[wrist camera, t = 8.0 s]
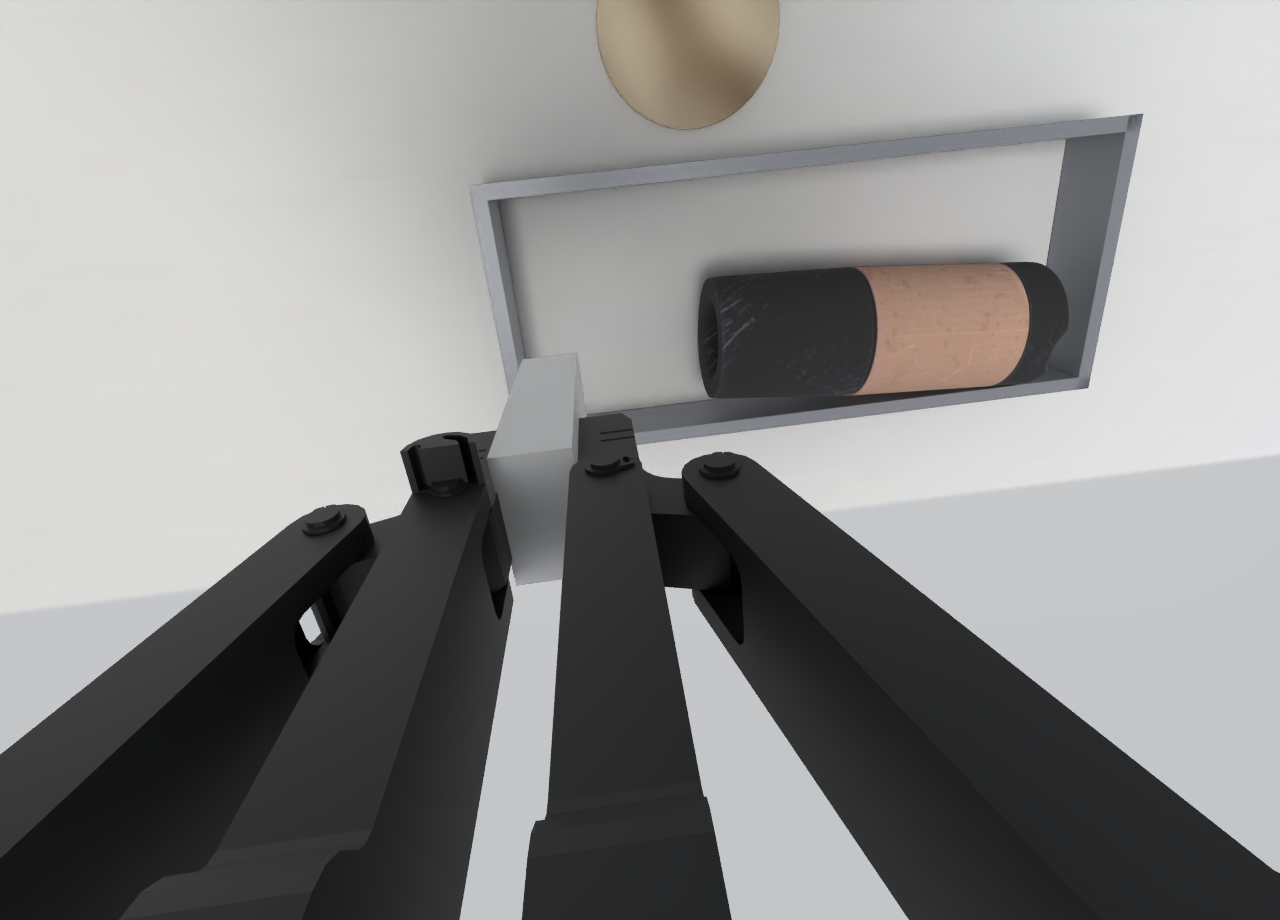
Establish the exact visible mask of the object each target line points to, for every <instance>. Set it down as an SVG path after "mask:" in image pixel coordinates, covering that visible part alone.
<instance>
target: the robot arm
mask: <svg viewBox="0 0 1280 920" xmlns="http://www.w3.org/2000/svg"><path fill="white" fill-rule="evenodd" d="M400 453H401V456H402V459H403V463H404V466H405V469H406V473H407V476H408V480H409V483H410V486H411V490H412V495H411V497H410V499H409V500H408V502H407V504H406V506H405V508H404V509H403V511H402V513H401V515H399V516H396V517H393V518H389V519H385V520H382V521H378V522H375V523H371V524H370V523H369V520H368V517H367V514H366V512H365V509H364V508H362V507H360V506H359V505H350V504H345V505H329V506H326V508H324V507H321V508H318V509H315V510H314V511H313V512H312V513H309V514H307V515H305V516H302V517H301V518H299V519H298V520H296V521H294V522H293V523H291V524H290V525H289V526H287V527H286V528H285V529H284V530H282V531H281V532H280V533H279V534H277V535H276V536H275V537H274V538H272V539H271V540H270V541H269V542H267V543H266V544H265V545H264V546H262V547H261V548H260V549H258V550H257V551H256V552H255V553H253V554H252V555H251V556H250V557H248V558H247V559H246V560H245V561H243V562H242V563H241V564H240V565H238V566H237V567H236V568H235V569H233V570H232V571H231V572H230V573H228V574H227V575H226V576H225V577H223V578H222V579H221V580H219V581H218V582H217V583H216V584H214V585H213V586H212V587H211V588H209V589H208V590H207V591H206V592H204V593H203V594H202V595H201V596H199V597H198V598H197V599H196V600H194V601H193V602H192V603H191V604H189V605H188V606H187V607H186V608H184V609H183V610H182V611H180V612H179V613H178V614H177V615H176V616H174V617H173V618H172V619H170V620H169V621H168V622H167V623H165V624H164V625H163V626H162V627H160V628H159V629H158V630H157V631H155V632H154V633H153V634H152V635H150V636H149V637H148V638H146V639H145V640H144V641H143V642H142V643H140V644H139V645H138V646H136V647H135V648H134V649H133V650H131V651H130V652H129V653H128V654H126V655H125V656H124V657H123V658H121V659H120V660H119V661H118V662H116V663H115V664H114V665H113V666H111V667H110V668H109V669H107V670H106V671H105V672H104V673H102V674H101V675H100V676H99V677H97V678H96V679H95V680H94V681H92V682H91V683H90V684H89V685H87V686H86V687H85V688H84V689H82V690H81V691H80V692H79V693H77V694H76V695H75V696H73V697H72V698H71V699H70V700H68V701H67V702H66V703H65V704H63V705H62V706H61V707H60V708H58V709H57V710H56V711H55V712H53V713H52V714H51V715H50V716H48V717H47V718H46V719H45V720H43V721H42V722H41V723H40V724H38V725H37V726H36V727H35V728H33V729H32V730H31V731H29V732H28V733H27V734H26V735H24V736H23V737H22V738H21V739H19V740H18V741H17V742H16V743H14V744H13V745H12V746H11V747H9V748H8V749H7V750H6V751H4V752H3V753H2V754H0V920H459V919H460V913H461V907H462V901H463V895H464V889H465V883H466V878H467V872H468V866H469V860H470V854H471V848H472V842H473V836H474V830H475V824H476V819H477V812H478V807H479V801H480V795H481V789H482V783H483V777H484V771H485V765H486V759H487V754H488V747H489V742H490V735H491V730H492V724H493V718H494V712H495V706H496V700H497V695H498V689H499V683H500V676H501V670H502V664H503V658H504V653H505V647H506V641H507V635H508V630H509V623H510V618H511V612H512V606H513V596H512V591H511V586H510V582H509V578H508V577H509V571H510V566H511V565H512V569H513V573H514V578H515V582H516V585H524V584H531V583H538V582H546V581H553V580H560V579H562V595H561V610H560V625H559V641H558V655H557V670H556V685H555V701H554V718H553V731H552V747H551V762H550V763H551V764H550V778H549V794H548V805H547V814H546V817H545V820H540V821H536V822H535V824H534V827H533V830H532V832H531V837H530V844H529V851H528V858H527V868H526V880H525V891H524V902H523V913H522V920H732V919H731V914H730V909H729V904H728V898H727V894H726V888H725V883H724V878H723V872H722V867H721V862H720V857H719V852H718V847H717V841H716V836H715V831H714V827H713V822H712V817H711V813H710V807H709V804H708V801H707V797H704V795H703V791H702V787H701V781H700V776H699V771H698V765H697V760H696V754H695V749H694V744H693V738H692V733H691V728H690V723H689V718H688V711H687V706H686V700H685V695H684V690H683V684H682V679H681V674H680V668H679V663H678V657H677V652H676V647H675V641H674V636H673V631H672V625H671V620H670V614H669V609H668V604H667V598H666V593H665V587H675V588H687V589H692V595H693V598H694V601H695V604H696V605H697V607H698V608H699V610H700V611H701V612H702V614H703V615H704V617H705V618H706V620H707V621H708V623H709V624H710V626H711V627H712V629H713V630H714V632H715V633H716V635H717V636H718V638H719V639H720V641H721V642H722V644H723V645H724V647H725V648H726V649H727V651H728V652H729V654H730V655H731V657H732V658H733V660H734V661H735V663H736V664H737V666H738V667H739V668H740V670H741V671H742V673H743V675H744V676H745V677H746V679H747V681H748V682H749V684H750V685H751V687H752V688H753V689H754V691H755V692H756V694H757V695H758V697H759V698H760V700H761V701H762V703H763V704H764V706H765V707H766V709H767V710H768V712H769V713H770V714H771V716H772V718H773V719H774V721H775V722H776V724H777V725H778V726H779V728H780V729H781V731H782V732H783V734H784V735H785V737H786V738H787V740H788V741H789V742H790V744H791V746H792V747H793V749H794V750H795V752H796V753H797V755H798V756H799V757H800V759H801V761H802V762H803V763H804V765H805V766H806V768H807V769H808V771H809V772H810V774H811V775H812V777H813V778H814V780H815V781H816V783H817V784H818V786H819V787H820V789H821V790H822V791H823V793H824V795H825V796H826V797H827V799H828V800H829V802H830V803H831V805H832V806H833V808H834V809H835V811H836V812H837V814H838V815H839V817H840V818H841V820H842V821H843V822H844V824H845V826H846V827H847V829H848V830H849V832H850V833H851V835H852V836H853V837H854V839H855V840H856V842H857V843H858V845H859V846H860V848H861V849H862V851H863V852H864V854H865V855H866V857H867V858H868V860H869V861H870V863H871V864H872V866H873V867H874V868H875V870H876V872H877V873H878V874H879V876H880V878H881V879H882V880H883V882H884V883H885V885H886V886H887V888H888V889H889V891H890V892H891V894H892V895H893V897H894V898H895V900H896V901H897V903H898V904H899V906H900V907H901V909H902V910H903V912H904V913H905V915H906V916H907V917H908V919H909V920H1280V873H1278V872H1276V871H1274V870H1273V869H1271V868H1270V867H1269V866H1267V865H1266V864H1265V863H1264V862H1262V861H1261V860H1260V859H1259V858H1257V857H1256V856H1255V855H1253V854H1252V853H1251V852H1250V851H1249V850H1247V849H1246V848H1245V847H1243V846H1242V845H1241V844H1240V843H1238V842H1237V841H1236V840H1235V839H1233V838H1232V837H1231V836H1229V835H1228V834H1227V833H1226V832H1224V831H1223V830H1222V829H1221V828H1219V827H1218V826H1217V825H1215V824H1214V823H1213V822H1212V821H1210V820H1209V819H1208V818H1207V817H1205V816H1204V815H1203V814H1201V813H1200V812H1199V811H1198V810H1196V809H1195V808H1194V807H1193V806H1191V805H1190V804H1189V803H1188V802H1186V801H1185V800H1184V799H1183V798H1181V797H1180V796H1179V795H1177V794H1176V793H1175V792H1174V791H1172V790H1171V789H1170V788H1168V787H1167V786H1166V785H1165V784H1164V783H1162V782H1161V781H1160V780H1159V779H1157V778H1156V777H1155V776H1153V775H1152V774H1151V773H1149V772H1148V771H1147V770H1146V769H1145V768H1143V767H1142V766H1141V765H1139V764H1138V763H1137V762H1136V761H1134V760H1133V759H1132V758H1130V757H1129V756H1128V755H1127V754H1126V753H1124V752H1123V751H1122V750H1120V749H1119V748H1118V747H1117V746H1115V745H1114V744H1113V743H1112V742H1110V741H1109V740H1108V739H1107V738H1105V737H1104V736H1103V735H1101V734H1100V733H1099V732H1098V731H1096V730H1095V729H1094V728H1093V727H1091V726H1090V725H1089V724H1087V723H1086V722H1085V721H1084V720H1082V719H1081V718H1080V717H1079V716H1077V715H1076V714H1075V713H1074V712H1072V711H1071V710H1070V709H1069V708H1067V707H1066V706H1065V705H1063V704H1062V703H1061V702H1059V701H1058V700H1057V699H1056V698H1055V697H1053V696H1052V695H1051V694H1049V693H1048V692H1047V691H1046V690H1044V689H1043V688H1042V687H1040V686H1039V685H1038V684H1037V683H1036V682H1034V681H1033V680H1032V679H1030V678H1029V677H1028V676H1026V675H1025V674H1024V673H1023V672H1021V671H1020V670H1019V669H1018V668H1016V667H1015V666H1014V665H1013V664H1011V663H1010V662H1009V661H1008V660H1006V659H1005V658H1004V657H1002V656H1001V655H1000V654H999V653H997V652H996V651H995V650H994V649H992V648H991V647H990V646H989V645H987V644H986V643H985V642H984V641H982V640H981V639H980V638H978V637H977V636H976V635H975V634H973V633H972V632H971V631H970V630H968V629H967V628H966V627H965V626H963V625H962V624H961V623H960V622H958V621H957V620H956V619H954V618H953V617H952V616H951V615H949V614H948V613H947V612H945V611H944V610H943V609H942V608H940V607H939V606H938V605H937V604H935V603H934V602H933V601H932V600H930V599H929V598H928V597H927V596H925V595H924V594H923V593H921V592H920V591H919V590H918V589H916V588H915V587H914V586H913V585H911V584H910V583H909V582H908V581H906V580H905V579H904V578H902V577H901V576H900V575H899V574H897V573H896V572H895V571H894V570H892V569H891V568H890V567H888V566H887V565H886V564H884V563H883V562H882V561H881V560H880V559H878V558H877V557H876V556H875V555H873V554H872V553H871V552H869V551H868V550H867V549H866V548H864V547H863V546H862V545H860V544H859V543H858V542H857V541H856V540H854V539H853V538H852V537H851V536H849V535H848V534H847V533H845V532H844V531H843V530H841V529H840V528H839V527H838V526H837V525H835V524H834V523H833V522H831V521H830V520H829V519H828V518H826V517H825V516H824V515H823V514H821V513H820V512H819V511H818V510H816V509H815V508H814V507H812V506H811V505H810V504H809V503H807V502H806V501H805V500H804V499H802V498H801V497H800V496H799V495H797V494H796V493H795V492H793V491H792V490H791V489H790V488H788V487H787V486H786V485H785V484H783V483H782V482H781V481H780V480H778V479H777V478H776V477H774V476H773V475H772V474H771V473H769V472H768V471H767V470H766V469H764V468H763V467H762V466H761V465H759V464H758V463H757V462H755V461H754V460H752V459H750V458H748V457H746V456H743V455H738V454H733V453H731V452H724V453H722V452H715V453H712V454H709V455H704V456H701V457H698V458H695V459H692V460H691V461H690V462H688V463H687V464H685V465H684V467H683V469H682V479H679V478H664V477H659V476H655V475H652V474H650V473H647V472H646V471H645V470H643V469H642V463H641V461H640V460H639V457H638V451H637V446H636V441H635V435H634V430H633V425H632V419H630V418H628V417H627V416H625V415H624V414H622V413H616V414H608V415H600V416H592V417H587V415H586V408H585V402H584V395H583V389H582V382H581V376H580V369H579V363H578V356H577V353H569V354H562V355H554V356H546V357H538V358H530V359H522V361H521V364H520V367H519V370H518V373H517V375H516V378H515V381H514V384H513V387H512V389H511V392H510V395H509V398H508V401H507V403H506V406H505V409H504V412H503V415H502V417H501V420H500V423H499V426H498V429H497V431H489V432H481V433H473V434H469V433H462V432H450V433H442V434H437V435H432V436H429V437H425V438H422V439H419V440H417V441H415V442H413V443H411V444H409V445H407V446H406V447H405V448H404V449H403V450H402V451H400ZM310 607H311V609H312V611H313V614H314V616H315V619H316V621H317V623H318V626H319V628H320V631H321V633H320V635H319V636H318V637H317V638H316V639H315V640H314V641H312V642H311V643H310V642H309V641H308V640H307V639H306V637H305V634H304V632H303V630H302V627H301V625H300V623H299V620H300V619H301V617H302V615H303V614H304V613H305V612H306V611H307V610H308V609H309V608H310Z"/></svg>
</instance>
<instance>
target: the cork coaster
mask: <svg viewBox="0 0 1280 920" xmlns="http://www.w3.org/2000/svg"><path fill="white" fill-rule="evenodd" d="M778 33H779V1H778V0H598V7H597V36H598V44H599V49H600V53H601V57H602V60H603V63H604V66H605V69H606V71H607V73H608V75H609V77H610V79H611V81H612V83H613V85H614V86H615V88H616V89H617V91H618V92H619V94H620V95H621V96H622V98H623V99H624V100H625V101H626V102H627V103H628V104H629V105H630V106H631V107H632V108H633V109H634V110H635V111H636V112H638V113H639V114H641V115H642V116H644V117H645V118H647V119H649V120H651V121H653V122H655V123H657V124H659V125H663V126H666V127H670V128H675V129H696V128H702V127H706V126H709V125H712V124H715V123H717V122H719V121H721V120H723V119H725V118H727V117H728V116H730V115H731V114H733V113H735V112H736V111H737V110H738V109H739V108H741V107H742V106H743V105H744V104H745V103H746V102H747V101H748V100H749V99H750V98H751V97H752V95H753V94H754V93H755V91H756V90H757V89H758V87H759V86H760V84H761V83H762V81H763V79H764V77H765V76H766V74H767V71H768V69H769V67H770V64H771V62H772V59H773V56H774V52H775V49H776V44H777V39H778Z"/></svg>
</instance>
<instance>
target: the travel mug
mask: <svg viewBox="0 0 1280 920" xmlns="http://www.w3.org/2000/svg"><path fill="white" fill-rule="evenodd" d="M1068 325H1069V307H1068V300H1067V295H1066V292H1065V289H1064V287H1063V285H1062V283H1061V281H1060V279H1059V278H1058V276H1057V275H1056V274H1055V273H1054V272H1053V271H1052V270H1051V269H1049V268H1048V267H1046V266H1044V265H1042V264H1039V263H1034V262H1010V263H976V264H941V265H907V266H872V267H852V268H848V267H846V268H833V269H819V270H805V271H791V272H777V273H764V274H750V275H737V276H725V277H715V278H710V279H707V280H706V281H705V283H704V286H703V289H702V293H701V298H700V306H699V320H698V343H699V358H700V367H701V373H702V379H703V383H704V387H705V390H706V392H707V394H708V396H709V397H711V398H769V397H809V396H847V395H865V394H880V393H895V392H910V391H925V390H940V389H955V388H970V387H985V386H1000V385H1015V384H1024V383H1029V382H1032V381H1034V380H1037V379H1038V378H1040V377H1042V376H1043V375H1044V374H1046V373H1047V372H1048V368H1047V362H1048V359H1049V357H1050V355H1051V353H1052V351H1053V349H1054V347H1055V345H1056V343H1057V342H1058V341H1059V340H1060V339H1061V338H1062V337H1063V336H1064V335H1065V334H1066V332H1067V330H1068Z"/></svg>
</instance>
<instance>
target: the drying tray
mask: <svg viewBox="0 0 1280 920" xmlns="http://www.w3.org/2000/svg"><path fill="white" fill-rule="evenodd" d="M1142 117H1143V114H1136V115H1126V116H1117V117H1108V118H1098V119H1089V120H1080V121H1070V122H1061V123H1051V124H1042V125H1033V126H1023V127H1014V128H1004V129H995V130H986V131H976V132H967V133H957V134H948V135H939V136H929V137H920V138H910V139H901V140H892V141H882V142H873V143H864V144H854V145H845V146H835V147H826V148H817V149H807V150H798V151H788V152H779V153H770V154H760V155H751V156H741V157H732V158H723V159H713V160H704V161H695V162H685V163H676V164H666V165H657V166H648V167H638V168H629V169H619V170H610V171H601V172H591V173H582V174H572V175H563V176H554V177H544V178H535V179H526V180H516V181H507V182H497V183H488V184H479V185H469V189H470V194H471V200H472V205H473V210H474V215H475V220H476V226H477V231H478V236H479V241H480V246H481V252H482V257H483V262H484V267H485V272H486V278H487V283H488V288H489V293H490V298H491V304H492V309H493V314H494V319H495V324H496V330H497V335H498V340H499V345H500V350H501V356H502V361H503V366H504V371H505V377H506V382H507V387H508V392H509V395H510V392H511V389H512V387H513V384H514V381H515V378H516V375H517V373H518V370H519V367H520V364H521V361H522V359H526V358H525V352H524V346H523V341H522V335H521V329H520V324H519V318H518V312H517V307H516V301H515V295H514V290H513V284H512V278H511V273H510V267H509V261H508V256H507V250H506V244H505V239H504V233H503V227H502V222H501V216H500V210H499V205H498V200H499V199H509V198H518V197H527V196H537V195H546V194H555V193H564V192H574V191H583V190H592V189H602V188H611V187H620V186H629V185H639V184H648V183H657V182H667V181H676V180H685V179H694V178H704V177H713V176H722V175H732V174H741V173H750V172H759V171H769V170H778V169H787V168H797V167H806V166H815V165H824V164H834V163H843V162H852V161H862V160H871V159H880V158H889V157H899V156H908V155H917V154H927V153H936V152H945V151H954V150H964V149H973V148H982V147H992V146H1001V145H1010V144H1019V143H1029V142H1038V141H1047V140H1057V139H1066V138H1067V141H1066V147H1065V154H1064V160H1063V166H1062V172H1061V179H1060V185H1059V191H1058V197H1057V204H1056V210H1055V216H1054V223H1053V229H1052V235H1051V241H1050V248H1049V254H1048V260H1047V266H1046V267H1048V268H1049V269H1051V270H1052V271H1053V272H1054V273H1055V274H1056V275H1057V276H1058V278H1059V279H1060V281H1061V283H1062V285H1063V287H1064V289H1065V292H1066V295H1067V300H1068V307H1069V325H1068V330H1067V332H1066V334H1065V335H1064V336H1063V337H1062V338H1061V339H1060V340H1059V341H1058V342H1057V343H1056V345H1055V347H1054V349H1053V351H1052V353H1051V355H1050V357H1049V359H1048V362H1047V368H1048V372H1047V373H1046V374H1044V375H1043V376H1042V377H1040V378H1038V379H1037V380H1034V381H1032V382H1029V383H1024V384H1015V385H1000V386H985V387H970V388H955V389H940V390H925V391H910V392H895V393H880V394H865V395H847V396H809V397H769V398H721V399H713V400H705V401H697V402H689V403H681V404H673V405H665V406H657V407H648V408H640V409H632V410H624V411H616V412H608V413H600V414H592V415H587V417H592V416H600V415H608V414H616V413H622V414H624V415H625V416H627V417H628V418H630V419H632V425H633V430H634V435H635V441H636V445H640V444H648V443H655V442H663V441H671V440H679V439H687V438H695V437H703V436H711V435H719V434H727V433H735V432H743V431H751V430H759V429H767V428H775V427H783V426H791V425H798V424H806V423H814V422H822V421H830V420H838V419H846V418H854V417H862V416H870V415H878V414H886V413H894V412H902V411H910V410H918V409H926V408H934V407H941V406H949V405H957V404H965V403H973V402H981V401H989V400H997V399H1005V398H1013V397H1021V396H1029V395H1037V394H1045V393H1053V392H1061V391H1069V390H1077V389H1084V388H1088V386H1089V381H1090V376H1091V371H1092V366H1093V361H1094V356H1095V351H1096V346H1097V341H1098V336H1099V331H1100V326H1101V321H1102V316H1103V311H1104V306H1105V301H1106V296H1107V291H1108V287H1109V282H1110V277H1111V272H1112V267H1113V262H1114V257H1115V252H1116V247H1117V242H1118V237H1119V232H1120V227H1121V222H1122V217H1123V212H1124V207H1125V202H1126V197H1127V192H1128V187H1129V182H1130V177H1131V172H1132V167H1133V162H1134V157H1135V152H1136V147H1137V142H1138V137H1139V132H1140V127H1141V122H1142Z"/></svg>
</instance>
